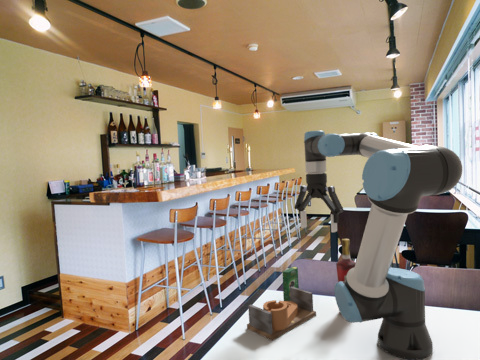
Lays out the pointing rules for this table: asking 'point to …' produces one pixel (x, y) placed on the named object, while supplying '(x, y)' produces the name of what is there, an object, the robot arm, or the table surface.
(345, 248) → the liquor
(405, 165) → the robot arm
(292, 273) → the coffee box
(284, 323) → the bracket
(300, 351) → the table surface
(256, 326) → the board
